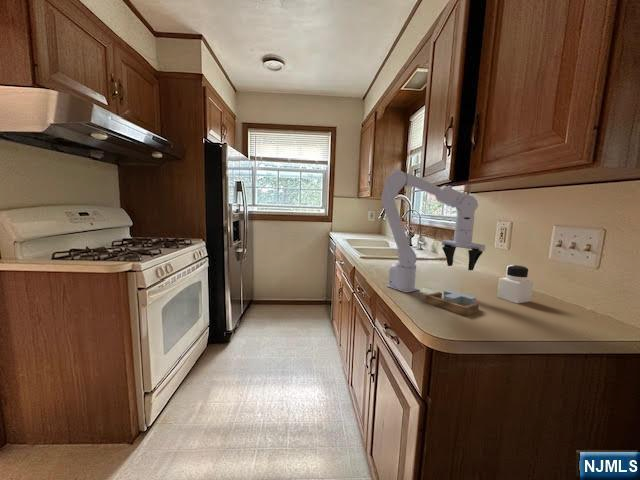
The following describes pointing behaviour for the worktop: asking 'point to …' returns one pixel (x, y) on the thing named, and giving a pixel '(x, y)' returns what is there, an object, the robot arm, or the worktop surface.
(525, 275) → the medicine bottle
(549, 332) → the worktop surface
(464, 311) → the walnut cradle
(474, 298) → the t block
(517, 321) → the worktop surface
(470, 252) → the robot arm
